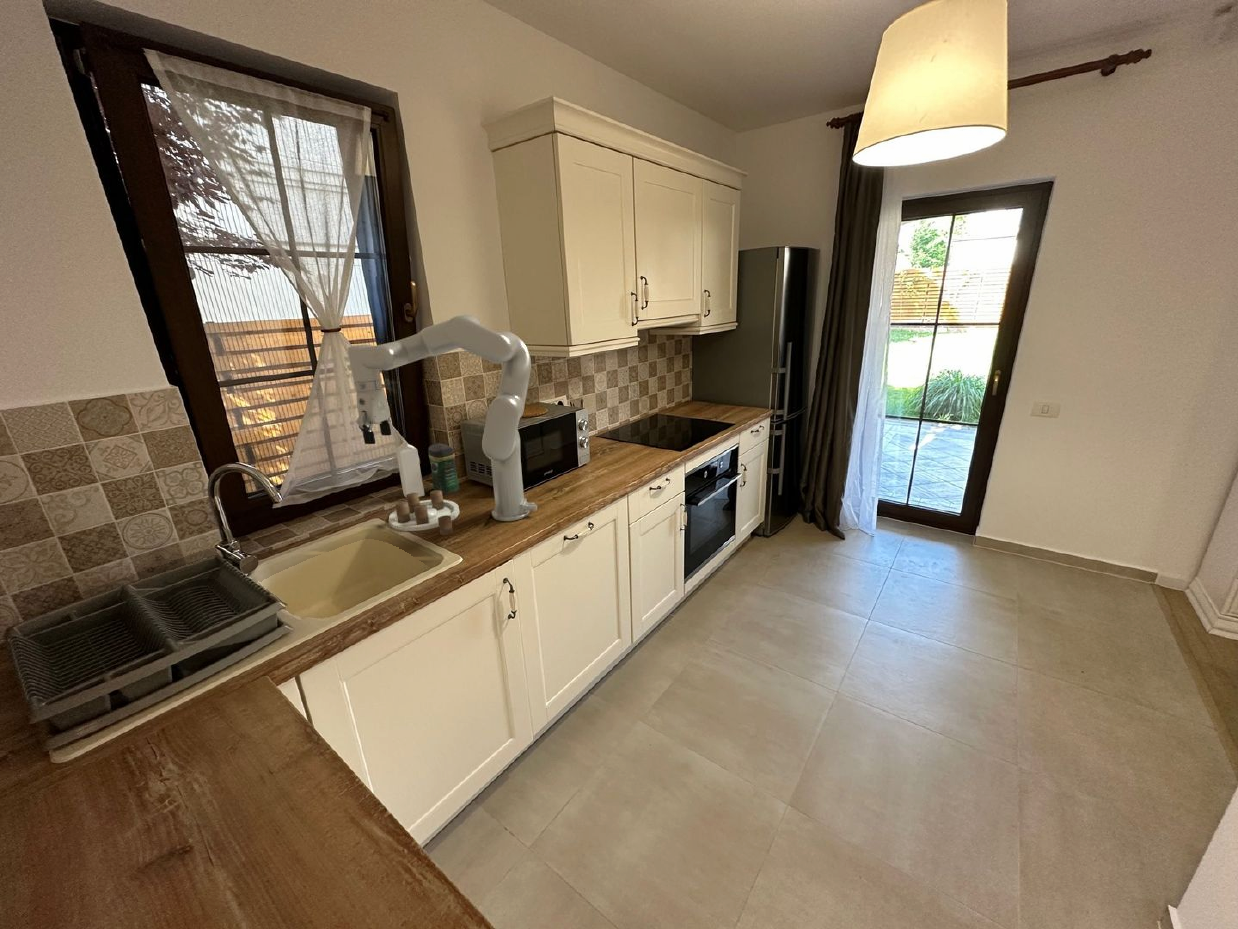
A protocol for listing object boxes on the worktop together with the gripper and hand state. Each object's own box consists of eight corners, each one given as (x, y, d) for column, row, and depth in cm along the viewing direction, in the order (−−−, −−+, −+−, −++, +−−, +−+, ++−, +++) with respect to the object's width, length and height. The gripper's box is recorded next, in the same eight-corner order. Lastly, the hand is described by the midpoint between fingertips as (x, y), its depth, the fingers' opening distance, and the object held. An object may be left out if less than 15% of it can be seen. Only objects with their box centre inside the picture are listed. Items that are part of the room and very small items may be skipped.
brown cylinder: (445, 506, 169) (443, 490, 168) (441, 510, 166) (439, 494, 164) (435, 505, 170) (432, 490, 168) (430, 510, 166) (428, 494, 164)
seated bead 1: (422, 508, 168) (420, 492, 166) (417, 513, 164) (415, 497, 162) (411, 508, 168) (409, 492, 166) (406, 513, 164) (404, 497, 162)
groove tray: (468, 505, 172) (468, 499, 171) (445, 533, 151) (444, 527, 151) (408, 505, 173) (407, 499, 173) (376, 533, 153) (375, 527, 152)
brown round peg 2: (431, 521, 158) (428, 504, 156) (426, 526, 154) (423, 509, 152) (419, 521, 158) (417, 504, 156) (414, 526, 154) (411, 509, 152)
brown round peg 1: (412, 518, 160) (409, 501, 158) (407, 523, 157) (404, 506, 155) (401, 518, 161) (398, 501, 159) (396, 523, 157) (393, 506, 155)
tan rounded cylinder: (455, 532, 152) (452, 515, 150) (450, 538, 149) (448, 520, 147) (443, 532, 152) (440, 515, 150) (438, 538, 149) (435, 520, 147)
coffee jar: (463, 491, 185) (456, 444, 179) (444, 497, 179) (436, 449, 173) (449, 485, 191) (443, 440, 185) (431, 491, 185) (423, 444, 179)
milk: (408, 502, 176) (397, 444, 169) (404, 497, 181) (393, 440, 173) (425, 497, 179) (415, 440, 172) (420, 492, 184) (411, 437, 177)
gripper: (364, 391, 141) (375, 447, 146) (394, 381, 157) (403, 432, 163) (339, 391, 141) (351, 447, 147) (371, 381, 158) (381, 432, 163)
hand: (378, 439), depth 155 cm, fingers open, 9 cm apart
